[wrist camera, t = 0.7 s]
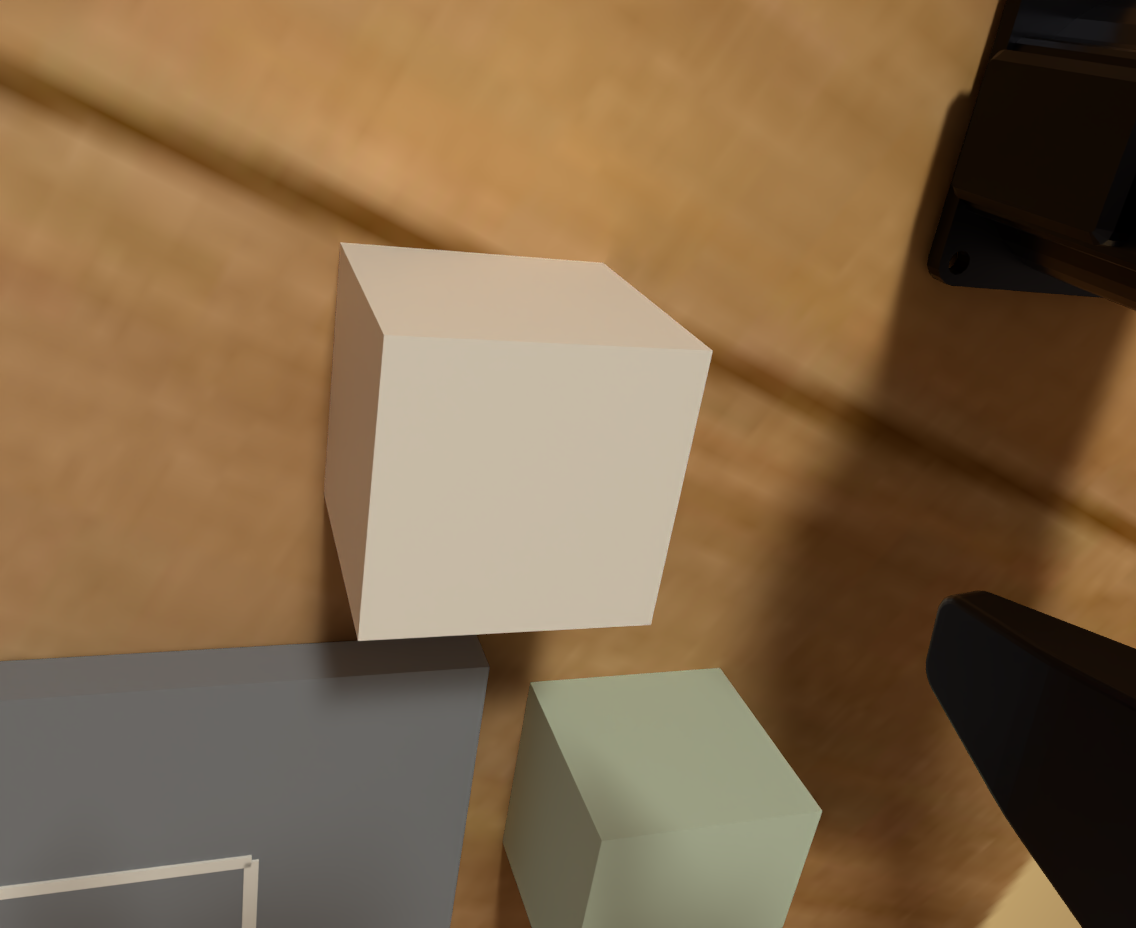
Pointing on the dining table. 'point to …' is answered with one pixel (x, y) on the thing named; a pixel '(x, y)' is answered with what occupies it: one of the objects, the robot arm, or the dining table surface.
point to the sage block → (653, 807)
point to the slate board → (239, 785)
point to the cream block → (503, 442)
